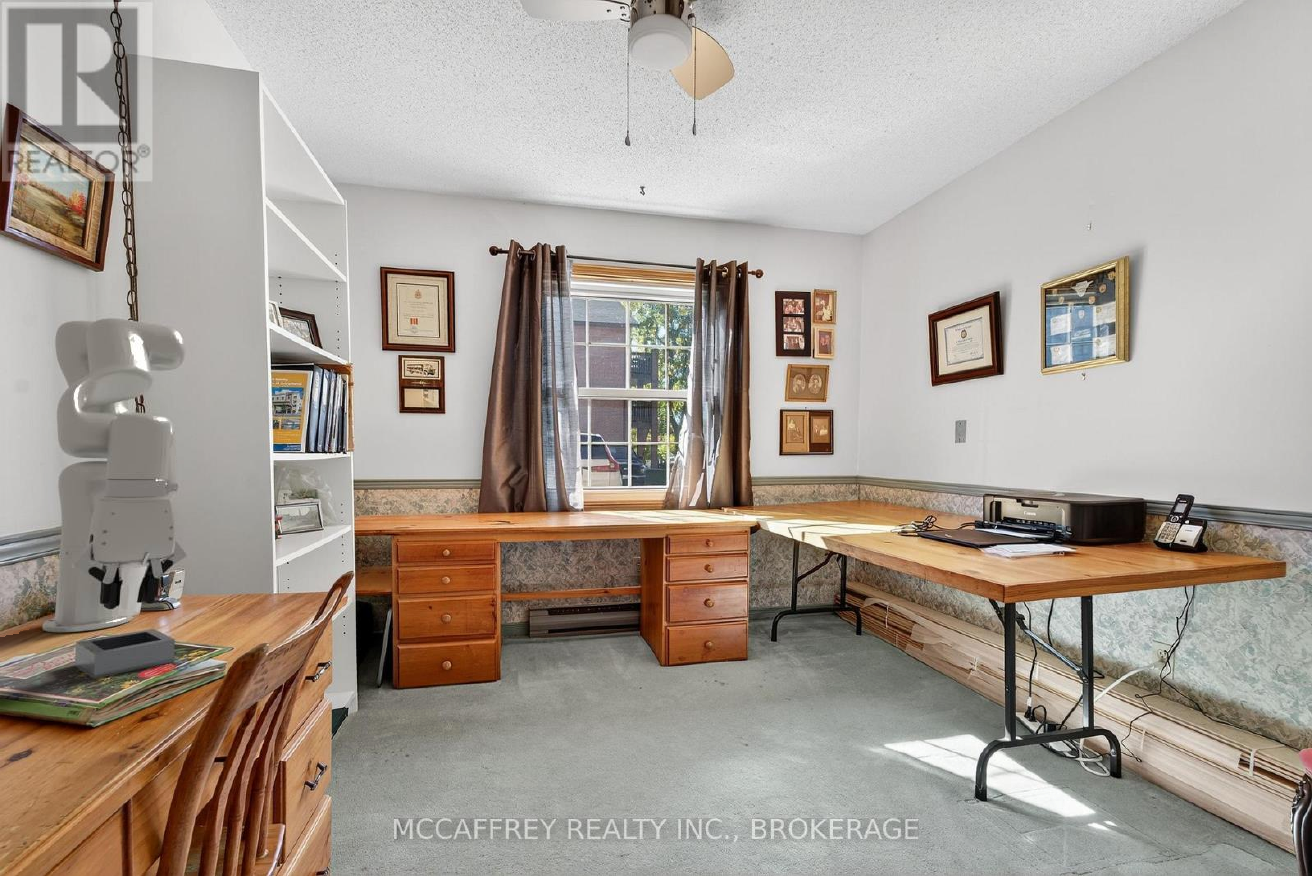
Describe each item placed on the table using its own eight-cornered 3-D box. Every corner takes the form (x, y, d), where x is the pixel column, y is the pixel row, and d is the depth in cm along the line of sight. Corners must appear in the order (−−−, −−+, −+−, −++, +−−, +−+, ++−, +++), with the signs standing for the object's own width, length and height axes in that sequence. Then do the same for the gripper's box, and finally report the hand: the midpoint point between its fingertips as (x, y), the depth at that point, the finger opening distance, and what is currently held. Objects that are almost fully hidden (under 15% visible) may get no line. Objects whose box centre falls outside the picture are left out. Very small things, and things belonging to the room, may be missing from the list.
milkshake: (126, 619, 91) (133, 554, 91) (99, 616, 92) (106, 552, 93) (156, 613, 95) (162, 551, 96) (130, 610, 96) (136, 549, 97)
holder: (74, 665, 92) (76, 642, 92) (151, 650, 100) (153, 628, 100) (93, 679, 87) (95, 654, 87) (173, 661, 95) (174, 639, 95)
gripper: (190, 488, 104) (183, 593, 103) (57, 490, 90) (48, 611, 89) (207, 490, 99) (201, 599, 99) (72, 492, 85) (62, 619, 85)
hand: (129, 603), depth 94 cm, fingers closed on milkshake, 4 cm apart
